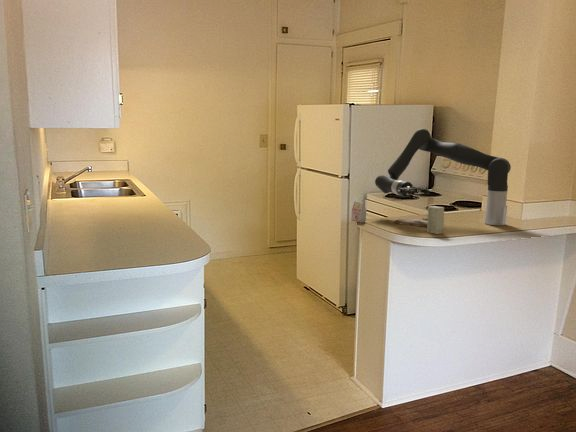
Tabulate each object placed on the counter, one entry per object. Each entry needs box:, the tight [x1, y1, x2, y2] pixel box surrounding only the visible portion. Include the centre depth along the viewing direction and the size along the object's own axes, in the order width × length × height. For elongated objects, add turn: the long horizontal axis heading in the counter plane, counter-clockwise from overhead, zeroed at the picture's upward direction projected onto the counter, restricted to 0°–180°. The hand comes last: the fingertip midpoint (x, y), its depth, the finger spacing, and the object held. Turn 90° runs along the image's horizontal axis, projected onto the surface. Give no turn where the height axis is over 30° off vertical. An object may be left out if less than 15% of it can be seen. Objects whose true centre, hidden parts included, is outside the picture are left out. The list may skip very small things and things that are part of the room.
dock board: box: [393, 217, 428, 228], centre depth 257 cm, size 20×12×2 cm, turn 52°
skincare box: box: [426, 205, 445, 235], centre depth 236 cm, size 6×4×12 cm
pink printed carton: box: [351, 200, 367, 224], centre depth 261 cm, size 4×7×10 cm, turn 35°
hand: (421, 192), depth 244 cm, fingers open, 8 cm apart
